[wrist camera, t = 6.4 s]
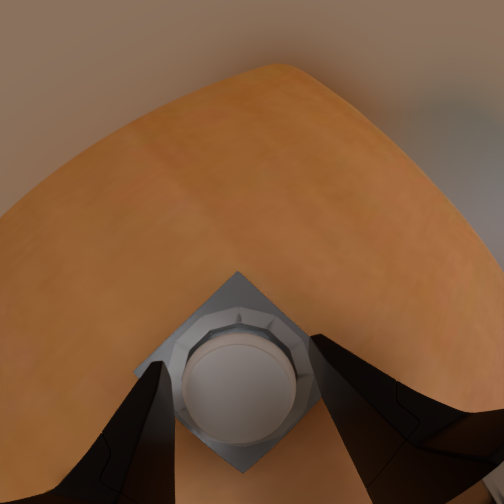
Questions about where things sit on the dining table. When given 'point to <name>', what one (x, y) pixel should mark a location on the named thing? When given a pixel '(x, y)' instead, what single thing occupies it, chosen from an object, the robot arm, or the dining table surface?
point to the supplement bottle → (238, 387)
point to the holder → (243, 321)
